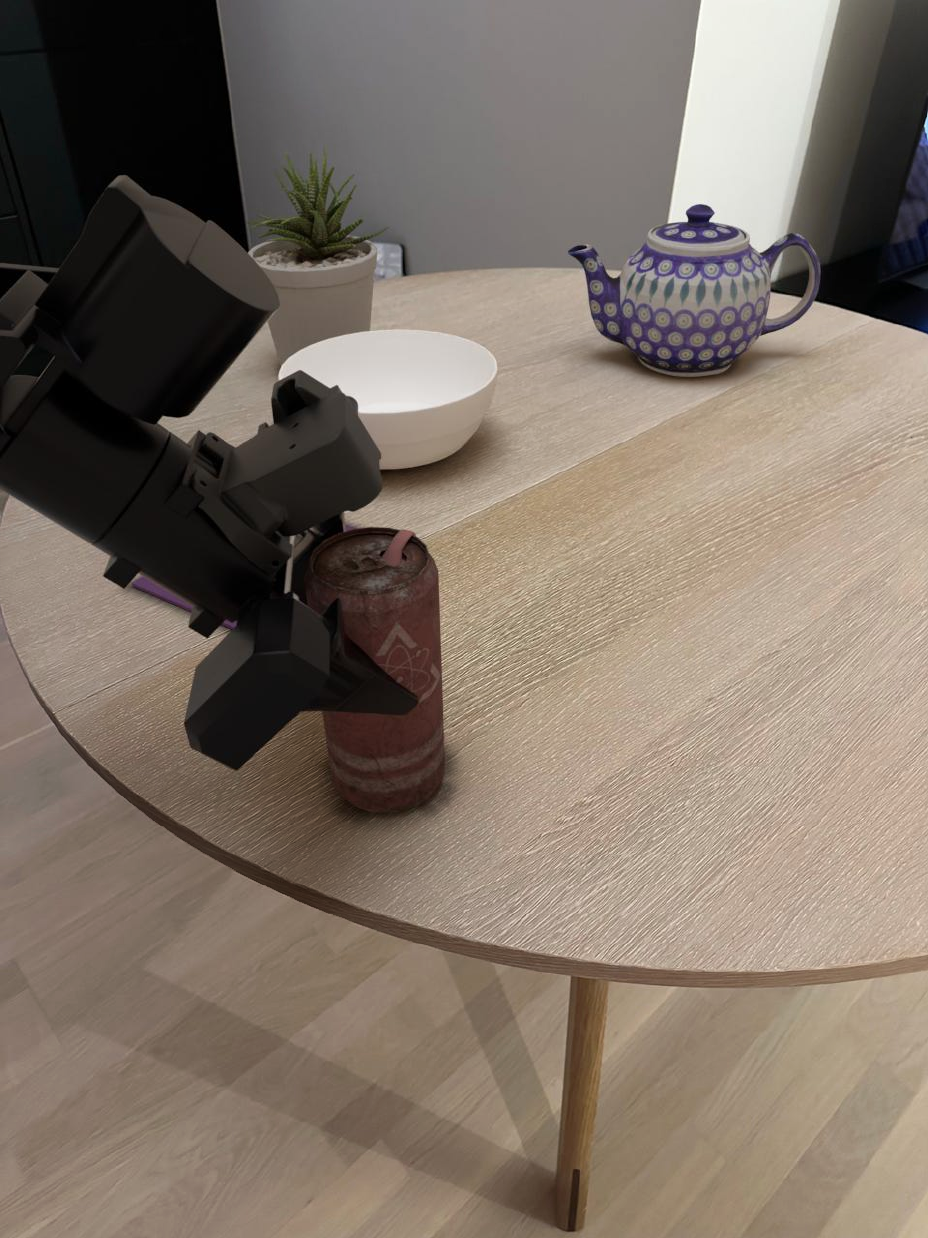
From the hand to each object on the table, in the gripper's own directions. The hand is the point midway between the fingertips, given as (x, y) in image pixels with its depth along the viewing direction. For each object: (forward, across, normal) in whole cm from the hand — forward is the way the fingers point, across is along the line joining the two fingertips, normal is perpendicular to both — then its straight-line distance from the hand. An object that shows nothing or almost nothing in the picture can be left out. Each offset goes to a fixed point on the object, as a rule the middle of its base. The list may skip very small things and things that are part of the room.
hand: (409, 670), depth 46 cm
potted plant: (+1, +59, +9) cm, 60 cm away
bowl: (+5, +39, +5) cm, 40 cm away
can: (+4, 0, +6) cm, 7 cm away
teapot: (+27, +56, -17) cm, 64 cm away
